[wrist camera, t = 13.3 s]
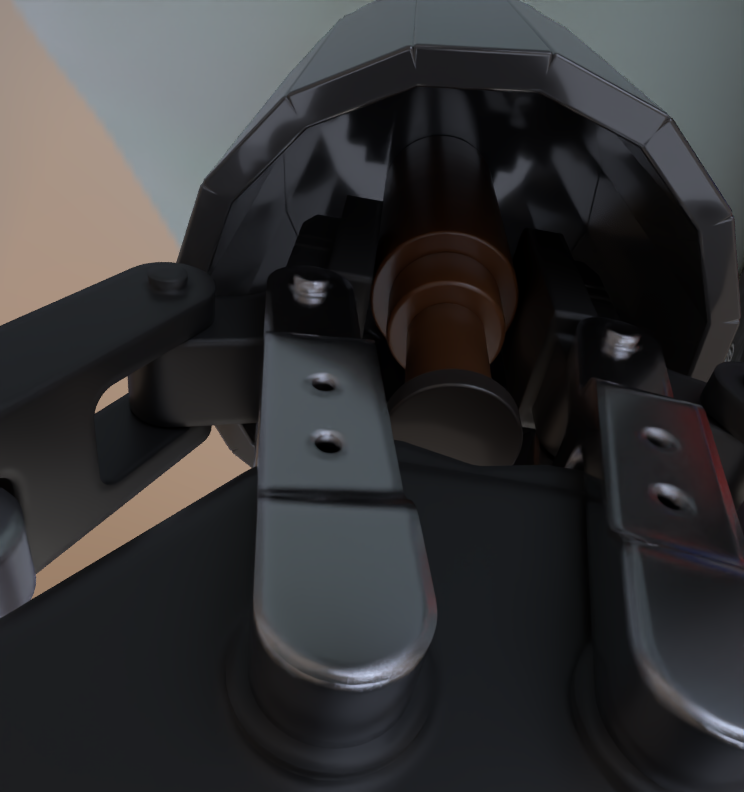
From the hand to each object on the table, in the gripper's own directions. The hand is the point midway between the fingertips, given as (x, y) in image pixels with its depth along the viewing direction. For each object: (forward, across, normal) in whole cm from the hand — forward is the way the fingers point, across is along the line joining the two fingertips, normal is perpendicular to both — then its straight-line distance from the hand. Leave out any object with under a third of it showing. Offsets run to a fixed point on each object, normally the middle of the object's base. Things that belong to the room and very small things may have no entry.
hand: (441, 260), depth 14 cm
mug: (+5, 0, +2) cm, 5 cm away
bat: (+4, 0, 0) cm, 4 cm away
